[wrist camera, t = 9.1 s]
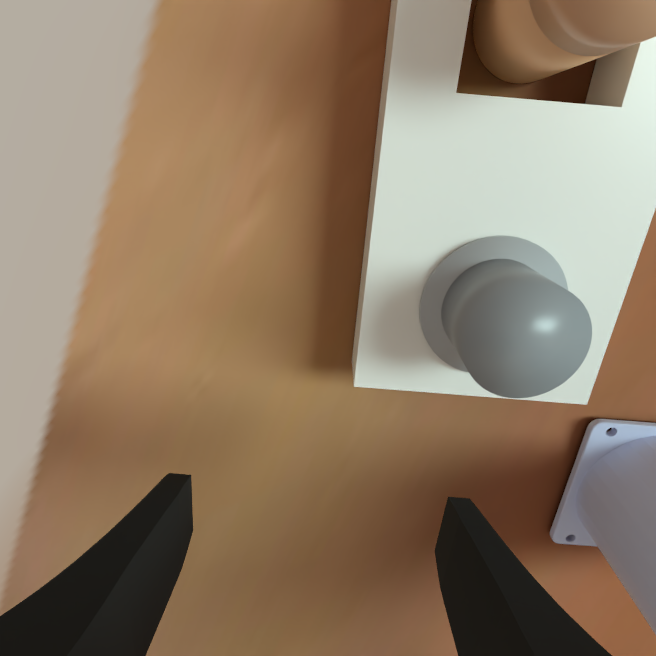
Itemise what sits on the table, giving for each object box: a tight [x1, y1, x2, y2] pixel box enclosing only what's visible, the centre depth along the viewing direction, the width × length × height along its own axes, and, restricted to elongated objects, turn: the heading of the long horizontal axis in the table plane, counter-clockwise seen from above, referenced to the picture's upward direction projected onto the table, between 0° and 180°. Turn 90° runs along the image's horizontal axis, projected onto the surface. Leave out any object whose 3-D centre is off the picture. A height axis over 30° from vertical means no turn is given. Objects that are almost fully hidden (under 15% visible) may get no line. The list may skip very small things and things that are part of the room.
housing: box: [352, 0, 656, 405], centre depth 15 cm, size 10×18×6 cm, turn 176°
